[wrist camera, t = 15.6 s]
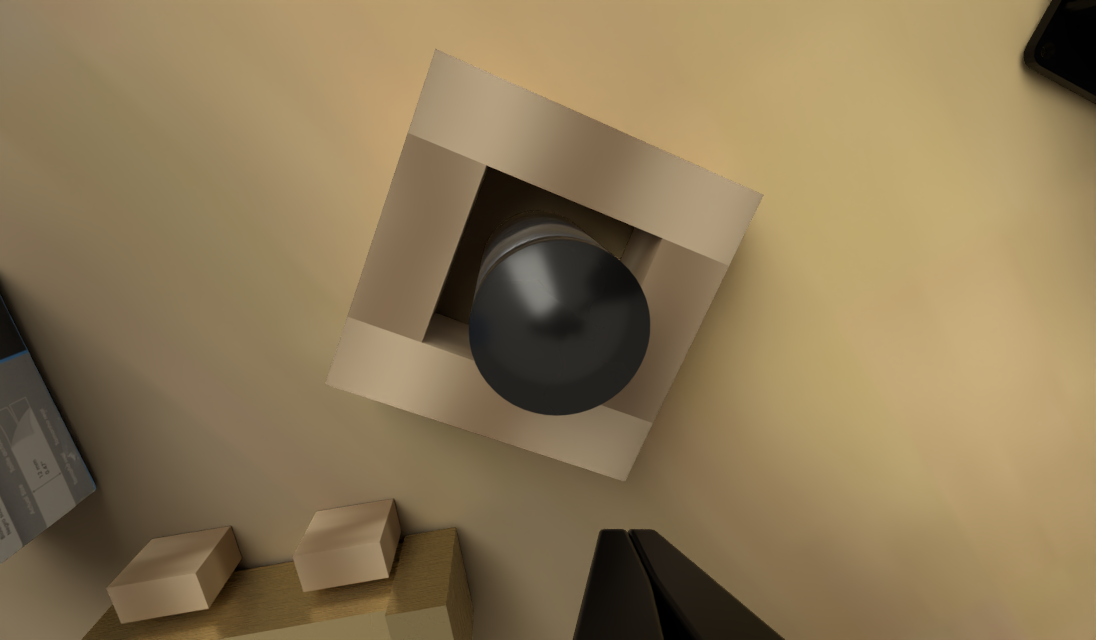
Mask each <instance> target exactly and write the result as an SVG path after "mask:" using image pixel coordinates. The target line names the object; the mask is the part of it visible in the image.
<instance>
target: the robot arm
mask: <svg viewBox="0 0 1096 640" xmlns="http://www.w3.org/2000/svg"><path fill="white" fill-rule="evenodd" d="M1042 47H1044V55H1043V57H1042V56H1041V50H1042ZM1023 59H1024V62H1025V64H1026V65H1027V66H1028V67H1029V68H1031V69H1033V70H1034V71H1036V72H1038V73H1040V74H1042V75H1044V76H1045V77H1047V78H1049V79H1051V80H1053V81H1055V82H1056V83H1058V84H1060V85H1062V86H1064V87H1066V88H1067V89H1069V90H1071V91H1073V92H1075V93H1077V94H1079V95H1080V96H1082V97H1084V98H1086V99H1088V100H1090V101H1091V102H1093V103H1095V104H1096V0H1052V1H1051V3H1050V5H1049V6H1048V8H1047V10H1046V12H1045V14H1044V15H1043V17H1042V19H1041V21H1040V22H1039V24H1038V26H1037V28H1036V30H1035V31H1034V33H1033V35H1032V37H1031V39H1030V40H1029V42H1028V44H1027V46H1026V48H1025V51H1024V58H1023ZM573 640H785V639H784V638H783V637H781V636H780V635H779V634H778V633H777V632H776V631H774V630H773V629H772V628H771V627H770V626H768V625H767V624H766V623H765V622H764V621H762V620H761V619H760V618H759V617H758V616H756V615H755V614H754V613H753V612H752V611H751V610H749V609H748V608H747V607H746V606H745V605H743V604H742V603H741V602H740V601H739V600H737V599H736V598H735V597H734V596H733V595H731V594H730V593H729V592H728V591H727V590H726V589H724V588H723V587H722V586H721V585H720V584H718V583H717V582H716V581H715V580H714V579H712V578H711V577H710V576H709V575H708V574H706V573H705V572H704V571H703V570H702V569H701V568H699V567H698V566H697V565H696V564H695V563H693V562H692V561H691V560H690V559H689V558H687V557H686V556H685V555H684V554H683V553H681V552H680V551H679V550H678V549H677V548H676V547H674V546H673V545H672V544H671V543H670V542H668V541H667V540H666V539H665V538H664V537H662V536H661V535H660V534H659V533H658V532H656V531H655V530H652V529H631V530H629V531H628V532H627V531H626V530H623V529H602V530H601V531H600V532H599V536H598V540H597V544H596V548H595V552H594V556H593V560H592V564H591V568H590V572H589V576H588V580H587V584H586V588H585V592H584V596H583V600H582V604H581V608H580V612H579V616H578V620H577V624H576V628H575V632H574V636H573Z"/></svg>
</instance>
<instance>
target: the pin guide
mask: <svg viewBox="0 0 1096 640" xmlns="http://www.w3.org/2000/svg"><path fill="white" fill-rule="evenodd" d="M400 534H401V528H400V524H399V520H398V516H397V512H396V507H395V503H394V499H389V500H383V501H377V502H371V503H365V504H359V505H353V506H347V507H341V508H335V509H329V510H323V511H317V512H316V513H315V515H314V517H313V519H312V521H311V523H310V525H309V526H308V528H307V530H306V532H305V534H304V536H303V538H302V540H301V541H300V543H299V545H298V547H297V549H296V551H295V553H294V555H293V556H292V557H293V560H294V563H295V566H296V569H297V573H298V576H299V579H300V582H301V585H302V589H303V592H307V591H313V590H319V589H325V588H331V587H336V586H342V585H348V584H354V583H359V582H365V581H371V580H377V579H383V578H388V577H389V575H390V571H391V568H392V564H393V560H394V556H395V553H396V549H397V545H398V542H399V538H400ZM241 559H242V557H241V554H240V551H239V548H238V546H237V543H236V540H235V537H234V534H233V531H232V528H231V526H227V527H221V528H215V529H209V530H203V531H197V532H191V533H185V534H179V535H173V536H167V537H161V538H155V539H151V541H150V542H149V543H148V544H147V545H146V546H145V547H144V548H143V549H142V550H141V551H140V552H139V553H138V554H137V556H136V557H135V558H134V559H133V560H132V561H131V562H130V563H129V564H128V565H127V566H126V567H125V568H124V569H123V571H122V572H121V573H120V574H119V575H118V576H117V577H116V578H115V579H114V580H113V581H112V582H111V583H110V584H109V586H108V587H107V588H106V589H107V592H108V594H109V596H110V599H111V601H112V603H113V606H114V608H115V610H116V613H117V615H118V617H119V619H120V622H121V624H122V623H128V622H134V621H139V620H145V619H151V618H157V617H163V616H168V615H174V614H180V613H186V612H191V611H197V610H203V609H209V607H210V606H211V604H212V603H213V601H214V600H215V598H216V597H217V595H218V594H219V592H220V591H221V589H222V588H223V586H224V585H225V583H226V582H227V580H228V579H229V577H230V575H231V574H232V572H233V571H234V569H235V568H236V566H237V565H238V563H239V562H240V560H241Z"/></svg>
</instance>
